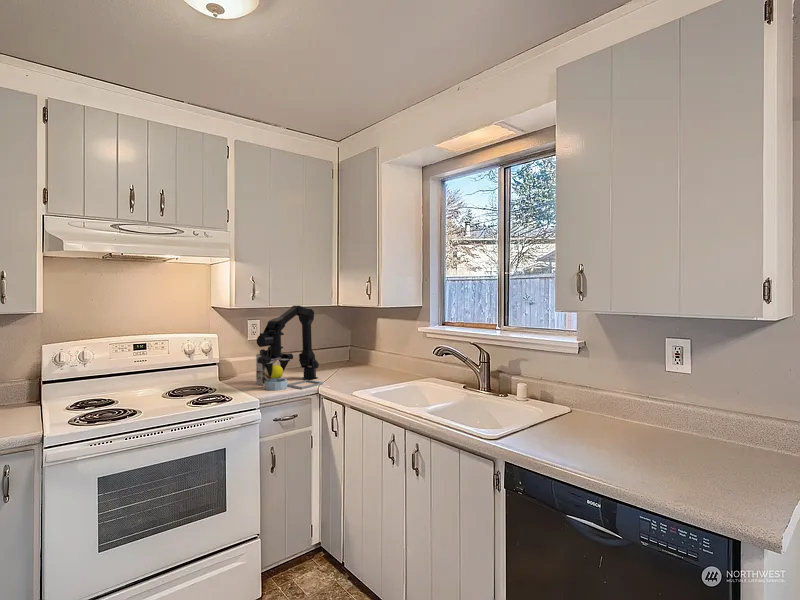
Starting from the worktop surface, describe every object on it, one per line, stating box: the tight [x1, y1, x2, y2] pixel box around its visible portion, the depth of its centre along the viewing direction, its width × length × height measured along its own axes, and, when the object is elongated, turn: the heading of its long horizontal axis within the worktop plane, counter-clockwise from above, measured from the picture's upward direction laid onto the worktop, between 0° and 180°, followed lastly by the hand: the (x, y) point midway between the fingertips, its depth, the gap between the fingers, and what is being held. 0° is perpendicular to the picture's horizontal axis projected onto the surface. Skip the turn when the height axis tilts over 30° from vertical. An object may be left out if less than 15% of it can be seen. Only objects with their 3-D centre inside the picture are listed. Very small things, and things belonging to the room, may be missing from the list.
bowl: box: [264, 377, 288, 391], centre depth 238 cm, size 11×11×4 cm
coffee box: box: [255, 353, 278, 386], centre depth 250 cm, size 9×6×16 cm
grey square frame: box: [287, 379, 324, 390], centre depth 244 cm, size 15×13×1 cm
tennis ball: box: [271, 364, 284, 379], centre depth 238 cm, size 7×7×7 cm
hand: (276, 374), depth 238 cm, fingers closed on tennis ball, 7 cm apart
